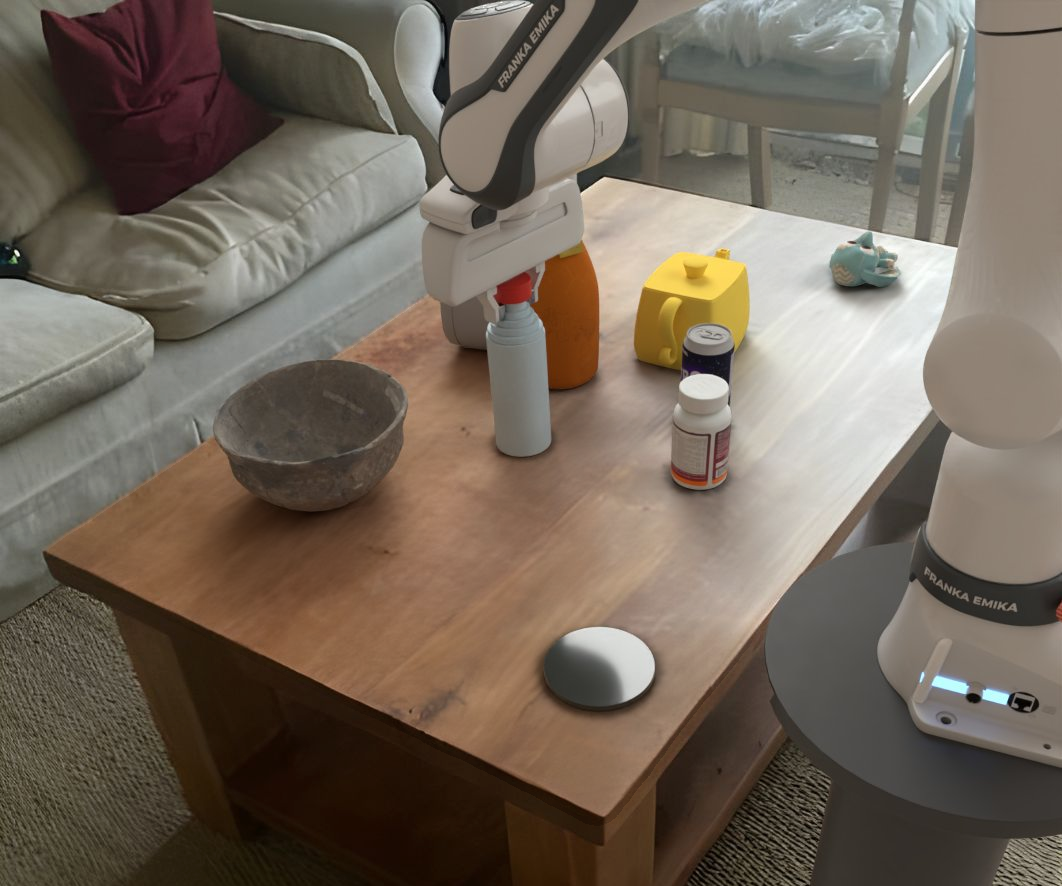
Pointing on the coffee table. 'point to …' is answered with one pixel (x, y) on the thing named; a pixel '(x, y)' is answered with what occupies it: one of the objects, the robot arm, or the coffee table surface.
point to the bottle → (519, 381)
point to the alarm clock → (465, 324)
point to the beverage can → (708, 352)
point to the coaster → (599, 668)
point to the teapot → (689, 304)
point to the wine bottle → (569, 317)
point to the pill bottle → (701, 432)
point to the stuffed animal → (863, 263)
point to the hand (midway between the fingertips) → (511, 311)
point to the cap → (514, 290)
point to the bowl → (313, 432)
